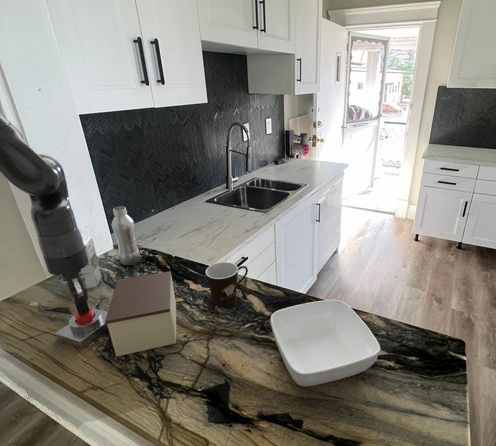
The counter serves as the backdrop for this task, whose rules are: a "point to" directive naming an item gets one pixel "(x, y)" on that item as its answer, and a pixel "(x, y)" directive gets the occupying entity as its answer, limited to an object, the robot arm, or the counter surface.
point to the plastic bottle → (125, 237)
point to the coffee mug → (223, 282)
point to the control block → (83, 330)
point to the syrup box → (91, 264)
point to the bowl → (323, 341)
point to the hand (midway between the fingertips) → (84, 312)
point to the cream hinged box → (145, 331)
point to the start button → (84, 317)
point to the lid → (140, 297)
